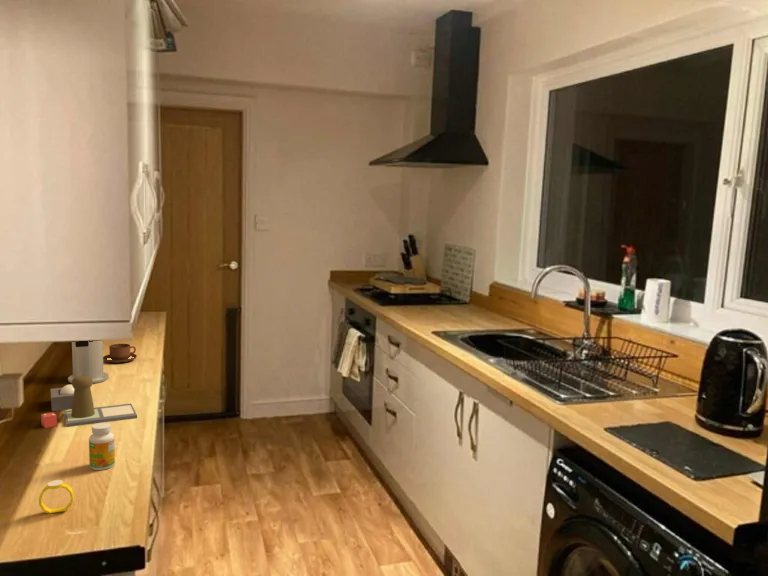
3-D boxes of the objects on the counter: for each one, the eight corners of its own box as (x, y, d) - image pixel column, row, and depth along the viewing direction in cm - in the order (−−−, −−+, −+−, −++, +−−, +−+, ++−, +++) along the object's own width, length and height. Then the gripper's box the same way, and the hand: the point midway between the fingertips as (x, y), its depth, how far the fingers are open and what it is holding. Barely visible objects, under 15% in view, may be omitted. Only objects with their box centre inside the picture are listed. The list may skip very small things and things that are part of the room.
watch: (75, 506, 128) (74, 478, 127) (73, 512, 125) (72, 483, 125) (41, 510, 126) (40, 481, 125) (38, 516, 123) (37, 487, 123)
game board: (64, 413, 183) (64, 410, 183) (131, 406, 192) (131, 403, 192) (66, 426, 173) (66, 423, 172) (137, 417, 181) (137, 414, 181)
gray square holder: (50, 401, 194) (50, 388, 193) (87, 397, 199) (86, 385, 198) (51, 411, 185) (51, 397, 185) (89, 406, 190) (89, 393, 189)
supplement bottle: (84, 469, 146) (83, 428, 144) (98, 460, 151) (97, 420, 150) (106, 471, 145) (105, 430, 143) (119, 462, 150) (118, 422, 149)
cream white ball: (59, 400, 193) (59, 383, 192) (79, 398, 195) (78, 381, 195) (60, 405, 188) (59, 388, 187) (80, 403, 191) (80, 386, 190)
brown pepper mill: (85, 418, 177) (84, 380, 175) (66, 416, 178) (65, 378, 176) (99, 412, 182) (98, 374, 181) (80, 410, 184) (79, 373, 182)
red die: (41, 425, 173) (41, 414, 173) (53, 422, 175) (53, 411, 175) (45, 428, 171) (44, 416, 171) (57, 425, 173) (56, 414, 173)
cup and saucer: (121, 356, 254) (121, 341, 253) (143, 360, 249) (143, 344, 248) (96, 362, 243) (95, 346, 242) (118, 366, 238) (118, 350, 237)
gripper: (62, 278, 181) (64, 337, 183) (65, 286, 166) (67, 350, 168) (91, 277, 185) (92, 335, 187) (96, 285, 170) (98, 348, 172)
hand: (80, 342), depth 178 cm, fingers open, 9 cm apart
